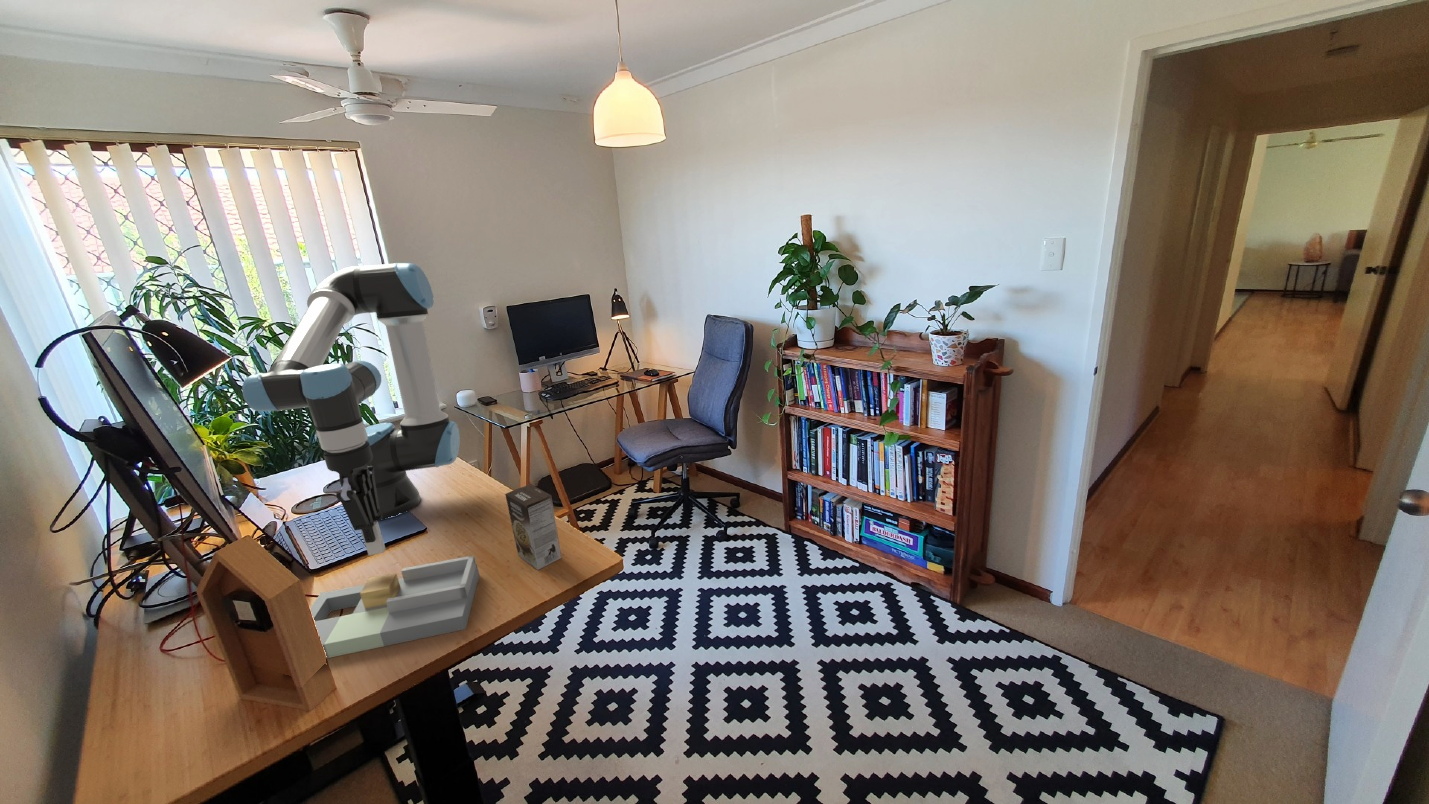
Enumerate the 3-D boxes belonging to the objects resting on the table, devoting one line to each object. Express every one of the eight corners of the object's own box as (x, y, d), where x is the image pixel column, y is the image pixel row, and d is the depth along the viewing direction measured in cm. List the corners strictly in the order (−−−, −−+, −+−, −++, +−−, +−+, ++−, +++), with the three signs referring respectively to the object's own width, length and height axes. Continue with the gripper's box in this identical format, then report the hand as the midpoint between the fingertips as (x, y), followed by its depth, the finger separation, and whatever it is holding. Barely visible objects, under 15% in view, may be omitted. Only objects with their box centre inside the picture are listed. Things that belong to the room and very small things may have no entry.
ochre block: (373, 592, 109) (368, 578, 108) (400, 587, 111) (396, 572, 109) (364, 608, 105) (360, 593, 104) (393, 603, 106) (388, 588, 105)
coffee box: (516, 556, 124) (503, 493, 119) (541, 543, 128) (530, 482, 123) (537, 571, 118) (524, 506, 113) (563, 557, 122) (551, 494, 117)
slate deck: (325, 605, 111) (317, 582, 110) (479, 575, 118) (474, 554, 116) (284, 667, 96) (274, 642, 94) (465, 629, 102) (459, 605, 100)
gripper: (337, 436, 108) (368, 539, 116) (308, 462, 96) (344, 574, 104) (378, 431, 110) (406, 532, 117) (354, 455, 98) (387, 566, 105)
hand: (377, 552), depth 110 cm, fingers closed
